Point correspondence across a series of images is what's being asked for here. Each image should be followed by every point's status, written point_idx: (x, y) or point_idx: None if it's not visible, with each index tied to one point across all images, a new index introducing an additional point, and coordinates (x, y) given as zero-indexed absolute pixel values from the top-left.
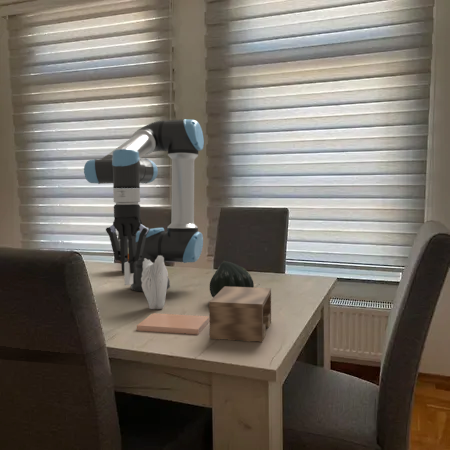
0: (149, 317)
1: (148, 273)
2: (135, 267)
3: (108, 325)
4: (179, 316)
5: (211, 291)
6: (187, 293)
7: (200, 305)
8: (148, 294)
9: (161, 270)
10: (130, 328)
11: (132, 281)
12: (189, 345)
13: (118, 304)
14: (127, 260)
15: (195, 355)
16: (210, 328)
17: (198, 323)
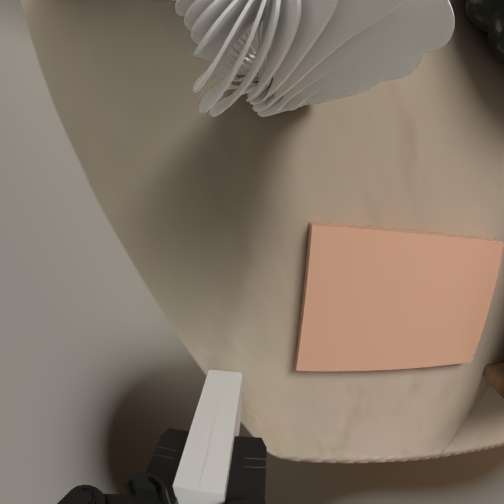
0: (316, 284)
1: (253, 78)
2: (265, 472)
3: (179, 327)
4: (424, 255)
5: (481, 14)
6: None
7: None
8: (247, 92)
9: (383, 73)
10: (267, 348)
11: (240, 391)
12: (440, 417)
13: (101, 69)
14: (167, 495)
15: (443, 447)
16: (495, 387)
17: (477, 317)
